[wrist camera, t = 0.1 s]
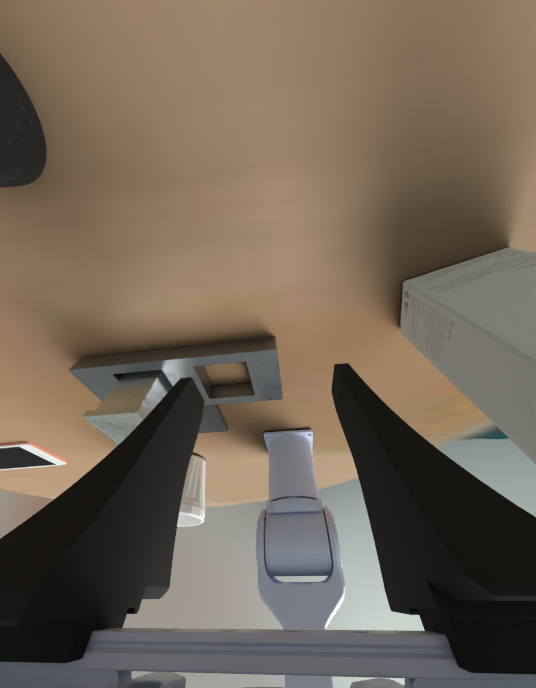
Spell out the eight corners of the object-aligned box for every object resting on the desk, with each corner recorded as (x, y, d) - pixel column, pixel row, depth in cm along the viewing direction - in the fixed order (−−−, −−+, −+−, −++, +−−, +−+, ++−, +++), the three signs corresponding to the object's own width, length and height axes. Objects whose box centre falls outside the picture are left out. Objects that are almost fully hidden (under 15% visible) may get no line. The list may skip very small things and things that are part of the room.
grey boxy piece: (185, 387, 26) (164, 440, 21) (148, 390, 26) (116, 444, 21) (168, 357, 23) (137, 412, 17) (125, 361, 23) (82, 416, 18)
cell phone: (-52, 447, 37) (-58, 452, 37) (31, 439, 35) (26, 444, 35) (-4, 466, 43) (-9, 471, 42) (70, 459, 41) (66, 464, 40)
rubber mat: (228, 428, 33) (228, 431, 32) (175, 432, 33) (174, 434, 33) (211, 394, 27) (211, 397, 27) (148, 399, 28) (147, 402, 27)
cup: (160, 464, 41) (138, 523, 34) (167, 443, 36) (142, 509, 28) (208, 471, 44) (196, 528, 37) (221, 453, 38) (211, 516, 31)
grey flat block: (281, 386, 26) (282, 399, 24) (122, 399, 28) (114, 412, 26) (275, 337, 21) (275, 349, 19) (82, 357, 23) (68, 369, 21)
